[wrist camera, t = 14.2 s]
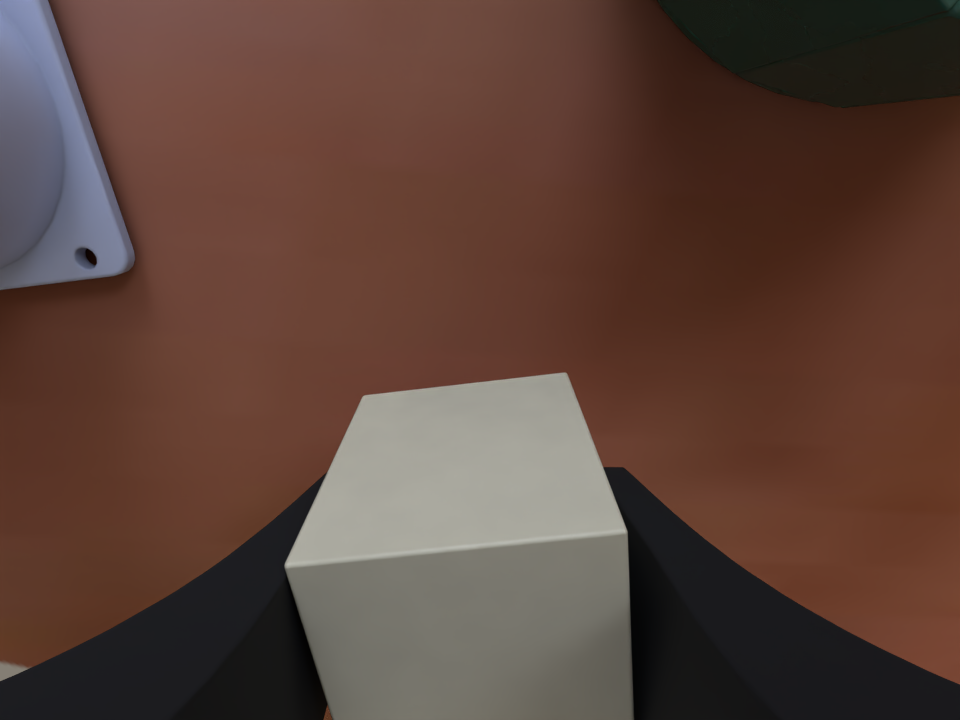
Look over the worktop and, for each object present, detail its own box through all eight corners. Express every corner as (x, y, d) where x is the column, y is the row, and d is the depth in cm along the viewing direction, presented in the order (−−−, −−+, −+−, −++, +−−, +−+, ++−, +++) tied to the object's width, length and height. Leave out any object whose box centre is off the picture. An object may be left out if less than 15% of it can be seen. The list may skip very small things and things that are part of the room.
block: (398, 557, 13) (352, 789, 9) (362, 394, 12) (282, 565, 7) (579, 539, 13) (636, 765, 8) (567, 371, 12) (628, 530, 7)
